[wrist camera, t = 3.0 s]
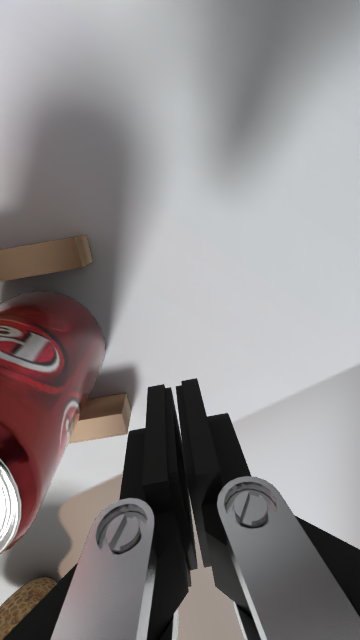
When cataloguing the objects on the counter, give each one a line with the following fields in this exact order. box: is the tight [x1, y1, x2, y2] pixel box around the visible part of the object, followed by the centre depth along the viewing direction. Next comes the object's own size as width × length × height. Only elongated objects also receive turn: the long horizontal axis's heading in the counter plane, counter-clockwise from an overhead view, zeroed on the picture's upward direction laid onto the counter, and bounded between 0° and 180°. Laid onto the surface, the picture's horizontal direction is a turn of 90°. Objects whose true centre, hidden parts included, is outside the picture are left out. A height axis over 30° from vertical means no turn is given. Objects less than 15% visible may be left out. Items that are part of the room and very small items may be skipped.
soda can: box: [0, 291, 105, 554], centre depth 14 cm, size 7×7×12 cm
